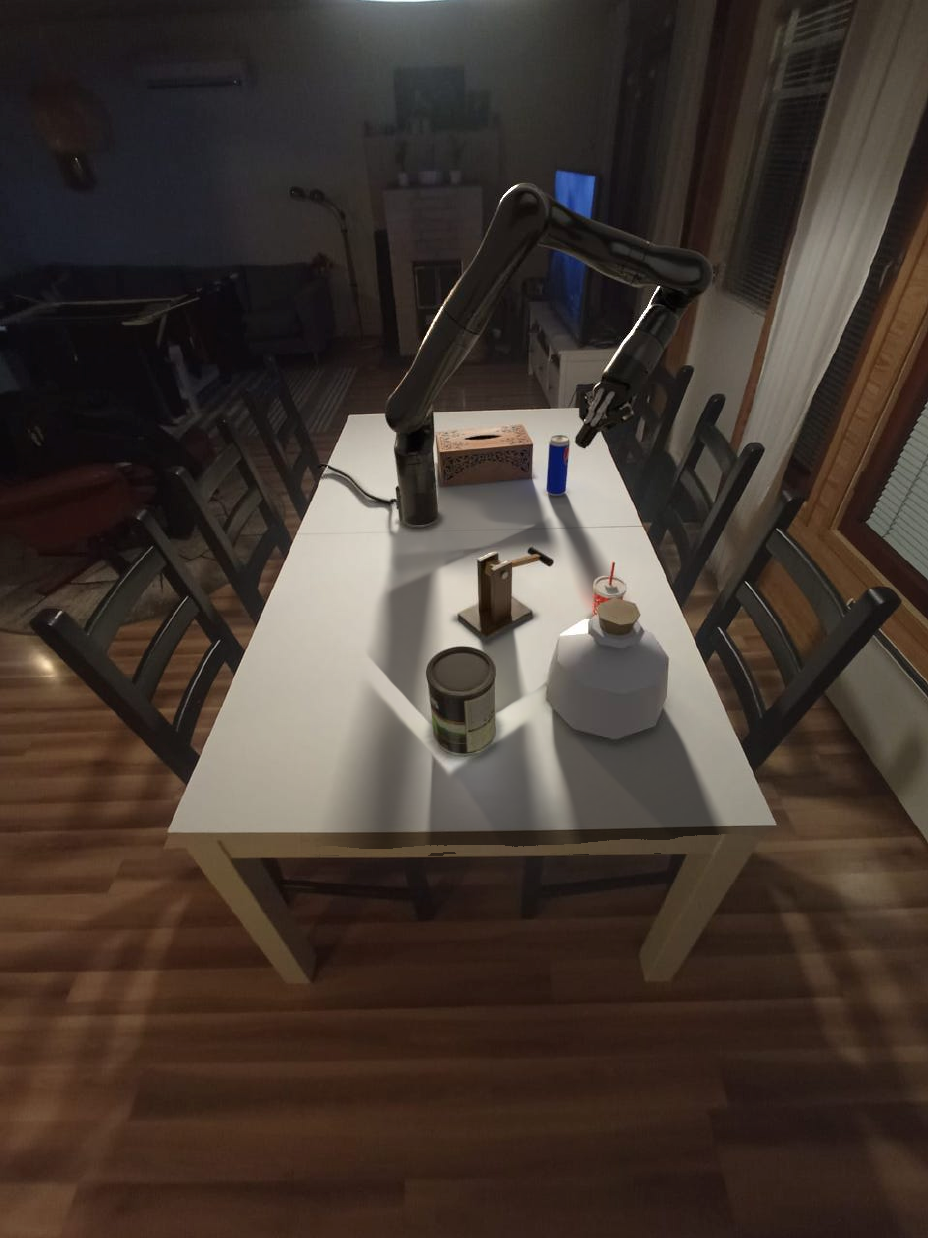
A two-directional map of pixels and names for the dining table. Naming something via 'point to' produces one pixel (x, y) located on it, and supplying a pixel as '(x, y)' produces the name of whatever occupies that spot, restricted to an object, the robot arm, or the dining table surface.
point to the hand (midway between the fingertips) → (579, 445)
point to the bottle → (609, 673)
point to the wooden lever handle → (521, 560)
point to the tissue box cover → (484, 454)
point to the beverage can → (557, 464)
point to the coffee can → (462, 700)
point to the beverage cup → (607, 589)
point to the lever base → (494, 599)
